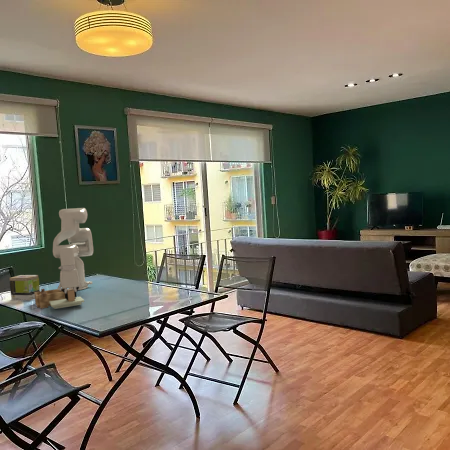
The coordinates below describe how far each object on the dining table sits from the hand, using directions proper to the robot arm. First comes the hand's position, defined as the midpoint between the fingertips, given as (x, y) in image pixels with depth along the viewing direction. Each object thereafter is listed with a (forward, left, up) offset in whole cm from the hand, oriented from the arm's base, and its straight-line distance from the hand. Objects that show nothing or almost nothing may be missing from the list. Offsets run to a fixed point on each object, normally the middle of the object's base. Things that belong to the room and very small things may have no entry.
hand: (70, 298), depth 260 cm
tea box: (+22, -42, -5) cm, 47 cm away
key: (+14, -4, +4) cm, 15 cm away
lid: (+3, 0, -3) cm, 4 cm away
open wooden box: (+9, -15, -5) cm, 18 cm away
